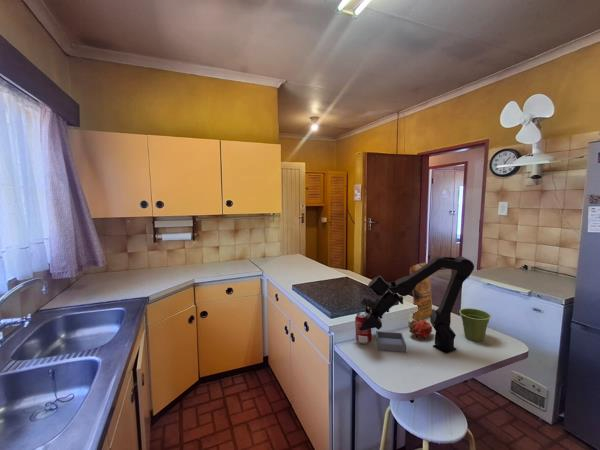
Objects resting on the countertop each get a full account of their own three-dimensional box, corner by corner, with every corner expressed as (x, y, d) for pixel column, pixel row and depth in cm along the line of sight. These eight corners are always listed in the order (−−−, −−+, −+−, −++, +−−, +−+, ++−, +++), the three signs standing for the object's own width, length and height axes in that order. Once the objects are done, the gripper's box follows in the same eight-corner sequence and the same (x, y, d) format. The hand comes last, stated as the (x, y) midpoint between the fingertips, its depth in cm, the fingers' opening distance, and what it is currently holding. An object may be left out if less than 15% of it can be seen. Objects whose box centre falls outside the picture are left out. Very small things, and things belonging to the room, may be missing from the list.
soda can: (368, 346, 116) (367, 318, 115) (353, 342, 120) (352, 316, 119) (373, 339, 122) (372, 313, 121) (359, 336, 126) (358, 310, 125)
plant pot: (453, 336, 124) (453, 312, 123) (467, 329, 130) (468, 306, 129) (481, 347, 114) (482, 321, 113) (495, 339, 120) (496, 314, 119)
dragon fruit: (407, 341, 124) (428, 340, 127) (419, 337, 117) (441, 336, 121) (402, 322, 128) (422, 321, 132) (413, 317, 122) (435, 317, 125)
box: (402, 339, 123) (402, 332, 123) (406, 352, 112) (406, 345, 112) (376, 337, 125) (376, 331, 125) (377, 350, 114) (377, 343, 114)
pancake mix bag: (404, 318, 145) (404, 265, 142) (426, 309, 155) (426, 260, 153) (416, 322, 139) (416, 268, 137) (437, 313, 149) (437, 262, 147)
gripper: (370, 283, 127) (347, 305, 130) (372, 296, 109) (345, 322, 112) (388, 300, 126) (364, 322, 129) (393, 316, 108) (365, 342, 111)
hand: (360, 326), depth 121 cm, fingers closed on soda can, 6 cm apart
